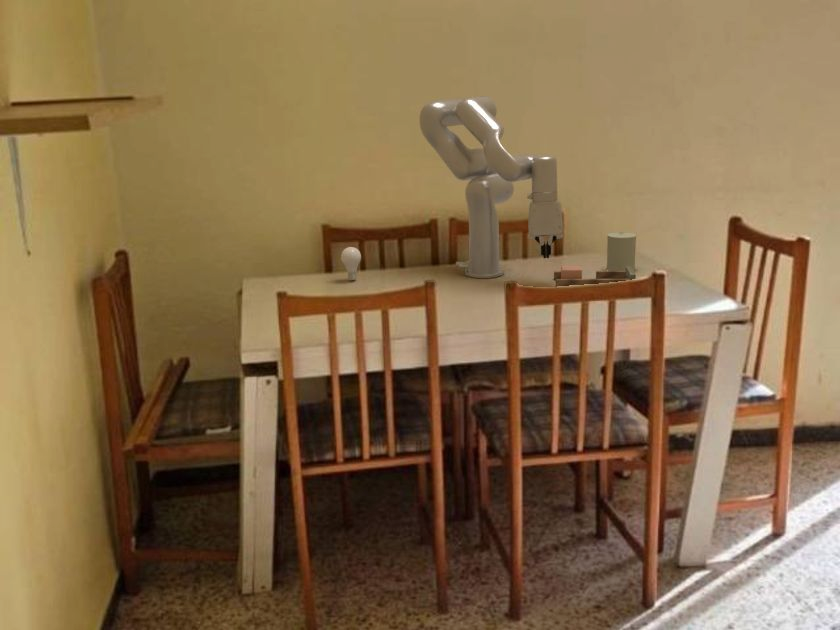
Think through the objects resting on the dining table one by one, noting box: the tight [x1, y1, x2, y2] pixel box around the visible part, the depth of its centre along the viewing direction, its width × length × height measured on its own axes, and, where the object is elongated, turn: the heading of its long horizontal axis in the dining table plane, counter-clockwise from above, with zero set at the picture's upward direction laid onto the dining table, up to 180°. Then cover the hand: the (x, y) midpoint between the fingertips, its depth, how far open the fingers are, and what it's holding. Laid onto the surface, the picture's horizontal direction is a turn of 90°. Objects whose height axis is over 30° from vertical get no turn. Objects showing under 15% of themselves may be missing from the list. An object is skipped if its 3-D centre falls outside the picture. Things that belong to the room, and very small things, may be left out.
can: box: [605, 231, 637, 272], centre depth 288 cm, size 9×9×12 cm
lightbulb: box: [340, 246, 362, 282], centre depth 284 cm, size 6×6×11 cm
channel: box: [553, 266, 637, 288], centre depth 273 cm, size 24×12×4 cm, turn 84°
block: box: [560, 265, 583, 279], centre depth 274 cm, size 6×6×5 cm
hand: (546, 257), depth 272 cm, fingers closed
